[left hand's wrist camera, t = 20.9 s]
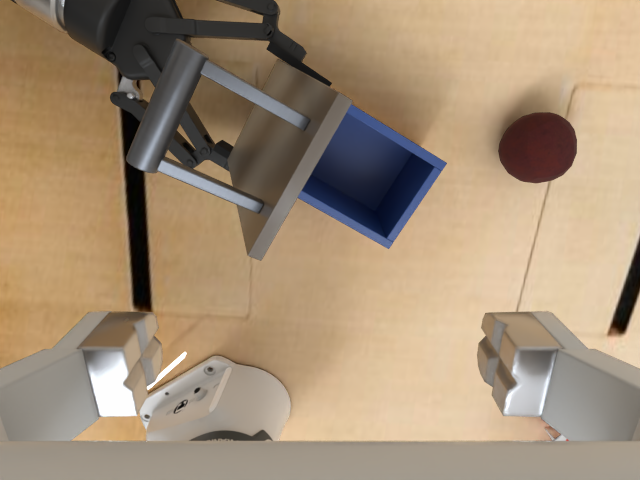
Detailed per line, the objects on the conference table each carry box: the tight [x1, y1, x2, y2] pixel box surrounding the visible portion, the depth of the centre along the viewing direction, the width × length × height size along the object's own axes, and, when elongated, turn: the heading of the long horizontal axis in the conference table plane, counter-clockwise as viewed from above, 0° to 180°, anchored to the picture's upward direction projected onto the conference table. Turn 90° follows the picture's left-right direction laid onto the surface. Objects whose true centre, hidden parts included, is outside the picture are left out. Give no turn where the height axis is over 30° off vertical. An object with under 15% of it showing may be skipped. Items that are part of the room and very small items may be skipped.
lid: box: [126, 39, 353, 261], centre depth 27 cm, size 18×10×8 cm
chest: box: [298, 104, 447, 249], centre depth 43 cm, size 17×10×11 cm, turn 60°
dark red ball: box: [498, 112, 577, 183], centre depth 45 cm, size 7×8×7 cm
